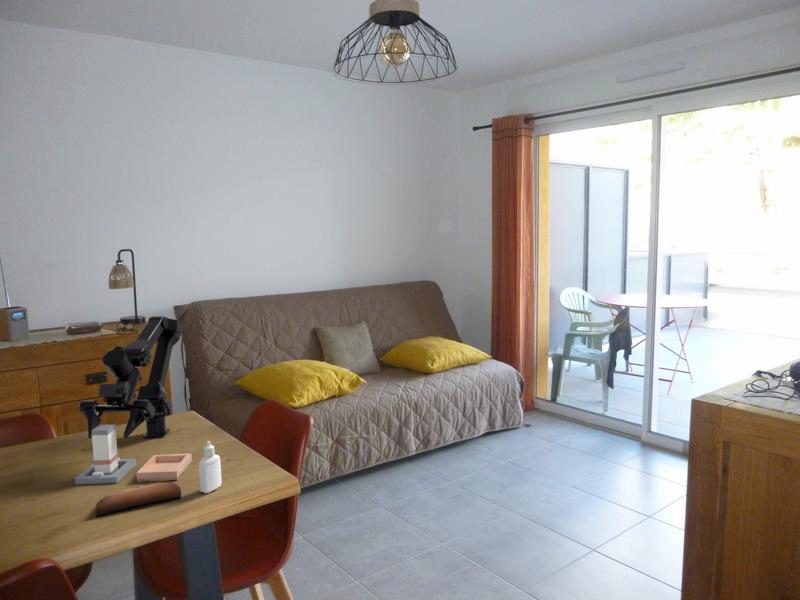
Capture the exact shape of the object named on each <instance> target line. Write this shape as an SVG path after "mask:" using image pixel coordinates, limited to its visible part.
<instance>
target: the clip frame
mask: <svg viewBox="0 0 800 600" xmlns="http://www.w3.org/2000/svg"><path fill="white" fill-rule="evenodd" d="M136 465H137V459H136V458H120V457H119V456H118V470H117V471H116V472H115V473H114V474H113V475H103V472H95V469H94V462H93V463H92V464H90V466H88V467H87V468H86V469H85V470H83V472H81V473H80V474H79V475H77V476H76V477H75V478H74V484H75V485H93V484H95V485H96V484H98V485H99V484H101V485H102V484H117V483H119V482H120V480H121V479H123V478H124V477H125V475H127V474H128V473H129V472H130V471H131V470H132V469H133V468H134V467H135V466H136Z"/></svg>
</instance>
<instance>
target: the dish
mask: <svg viewBox="0 0 800 600" xmlns="http://www.w3.org/2000/svg"><path fill="white" fill-rule="evenodd" d="M192 459H193V458H192V453H173V454H171V453H170V454H154V455H152V456H151V457H150V458H149V459H148V460H147V461H146V462H145V464H143V465H142V467H141V468H140V469H138V471H136V474H135V475H136V482H137V483H142V482H141V481H150V482H164V481H163V480H176V481H178V480H179V479H180V478H181V477H182V475H183V474H184V473H185V472H186V470H187V469H188V468H189V466H190V465H191V464H192V463H191V462H192V461H193V460H192ZM190 463H191V464H190ZM189 464H190V465H189ZM187 467H188V468H187ZM186 468H187V469H186ZM183 472H184V473H183ZM182 473H183V474H182ZM181 474H182V475H181ZM180 476H181V477H180ZM179 477H180V478H179ZM178 478H179V479H178Z"/></svg>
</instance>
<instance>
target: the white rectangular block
mask: <svg viewBox="0 0 800 600" xmlns="http://www.w3.org/2000/svg"><path fill="white" fill-rule="evenodd" d="M91 443H92V453H93V455H92V456H93V463H94V469H95V472H103V475H113V474H114V473H115V472H116V471H117V470H118V469H119V467H118V458H119V455H118V444H117V431H116V424H113V423H112V424H99V426H97V427H96V428H95V429H93V430H92V439H91Z"/></svg>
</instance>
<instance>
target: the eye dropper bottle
mask: <svg viewBox="0 0 800 600" xmlns="http://www.w3.org/2000/svg"><path fill="white" fill-rule="evenodd" d="M198 470H199V471H198V474H199V475H198V476H199V489H200V490H199V492H200V493H201V492H204V493H203V494H206V493H208V492H211V491H213V490H215V489H217V488H218V487H220V486H222V485H221V484H223V483H222V481H223V480H222V467H221V456H220V455H219V454H215V446H214V445H213V444H211V441H210V440H207V441H206V446H204V447H203V457H202V458H201V459H200V461H199V463H198ZM220 488H221V487H220ZM217 490H218V489H217ZM211 493H212V492H211ZM208 494H209V493H208Z"/></svg>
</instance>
